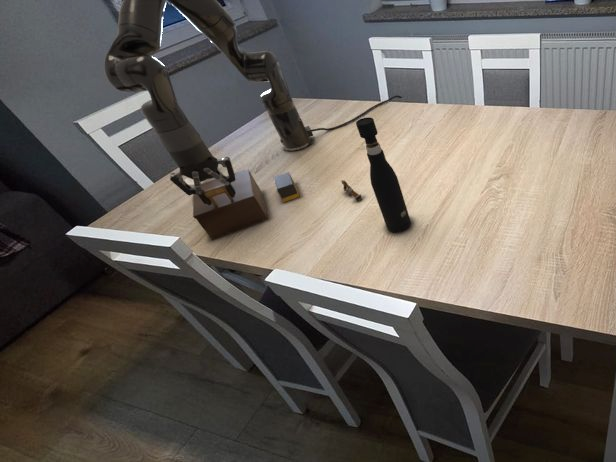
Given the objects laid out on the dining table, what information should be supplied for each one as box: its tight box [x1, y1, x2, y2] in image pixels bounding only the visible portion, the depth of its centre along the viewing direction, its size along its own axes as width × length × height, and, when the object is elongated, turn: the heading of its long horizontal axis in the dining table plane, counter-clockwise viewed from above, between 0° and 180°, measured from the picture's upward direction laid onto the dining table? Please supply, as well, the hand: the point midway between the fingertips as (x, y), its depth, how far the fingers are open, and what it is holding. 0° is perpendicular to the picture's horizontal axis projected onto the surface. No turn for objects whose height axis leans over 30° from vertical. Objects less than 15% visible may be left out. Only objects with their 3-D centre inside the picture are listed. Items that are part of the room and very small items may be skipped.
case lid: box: [192, 168, 255, 220], centre depth 111 cm, size 18×15×5 cm
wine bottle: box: [355, 116, 412, 234], centre depth 97 cm, size 6×6×30 cm
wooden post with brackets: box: [340, 179, 363, 202], centre depth 119 cm, size 2×8×4 cm, turn 49°
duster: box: [273, 171, 300, 203], centre depth 123 cm, size 5×8×5 cm, turn 30°
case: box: [195, 170, 269, 240], centre depth 116 cm, size 17×15×8 cm
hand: (221, 199), depth 107 cm, fingers closed on case lid, 5 cm apart
